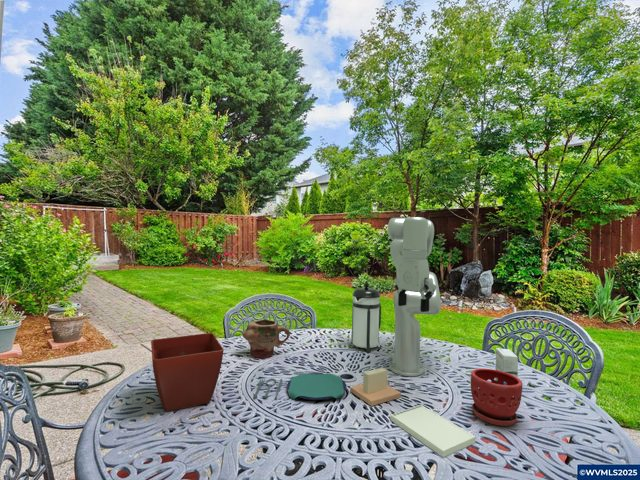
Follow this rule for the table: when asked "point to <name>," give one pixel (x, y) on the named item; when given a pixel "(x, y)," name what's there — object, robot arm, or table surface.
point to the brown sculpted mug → (264, 337)
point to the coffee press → (366, 318)
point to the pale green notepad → (433, 430)
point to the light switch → (375, 388)
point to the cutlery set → (311, 386)
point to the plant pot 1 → (186, 369)
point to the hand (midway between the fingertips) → (413, 308)
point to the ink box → (506, 362)
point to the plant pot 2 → (495, 396)
